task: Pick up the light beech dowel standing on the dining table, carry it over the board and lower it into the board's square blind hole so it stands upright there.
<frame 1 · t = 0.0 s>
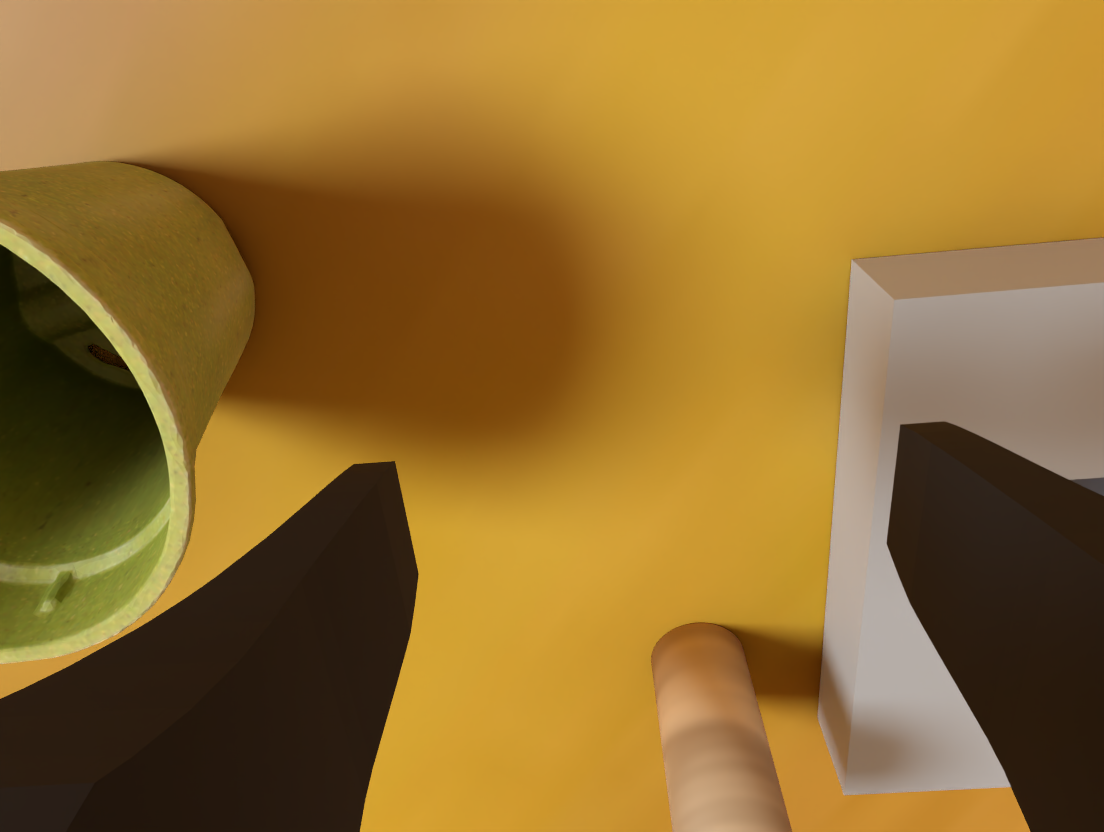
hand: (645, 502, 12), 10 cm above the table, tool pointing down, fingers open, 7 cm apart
dowel: (697, 658, 27), on the table
hole board: (1042, 509, 24), on the table
plant pot: (145, 280, 21), on the table
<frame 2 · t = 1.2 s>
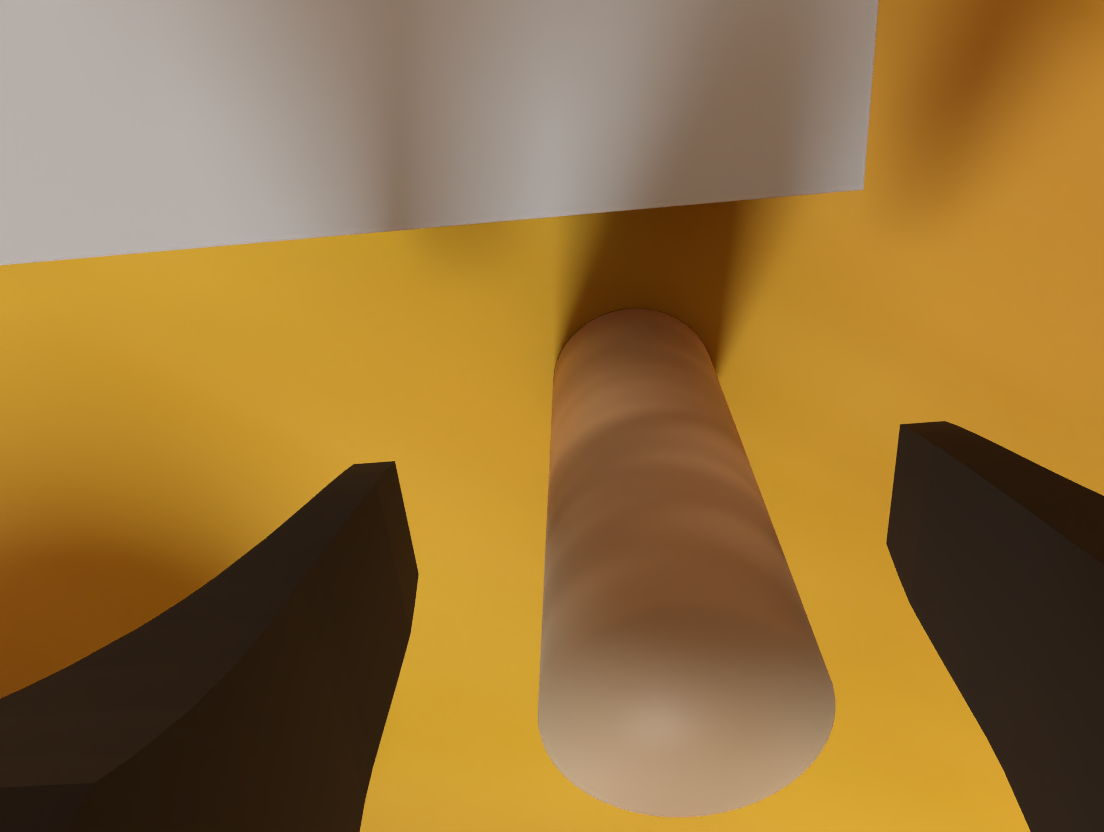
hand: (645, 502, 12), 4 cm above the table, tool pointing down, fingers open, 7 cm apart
dowel: (632, 383, 15), on the table
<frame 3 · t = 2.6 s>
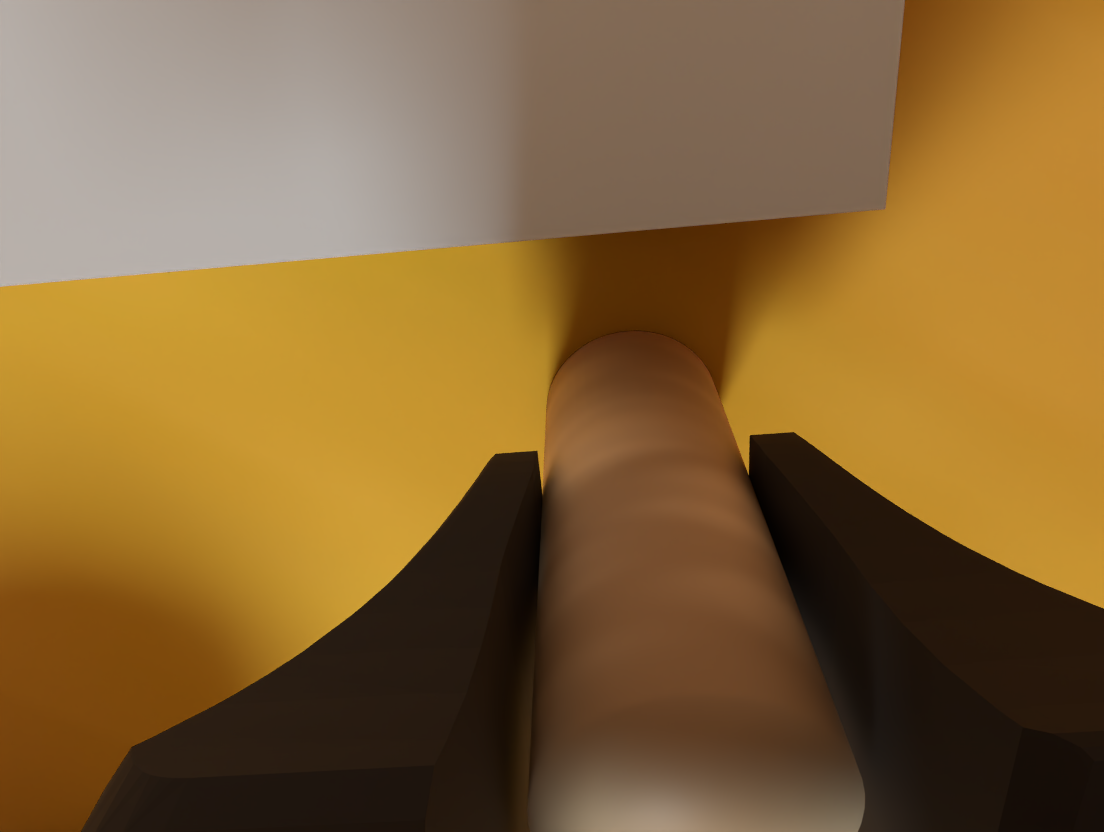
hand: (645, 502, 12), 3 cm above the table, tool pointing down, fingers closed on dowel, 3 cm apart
dowel: (631, 410, 14), on the table, touching gripper
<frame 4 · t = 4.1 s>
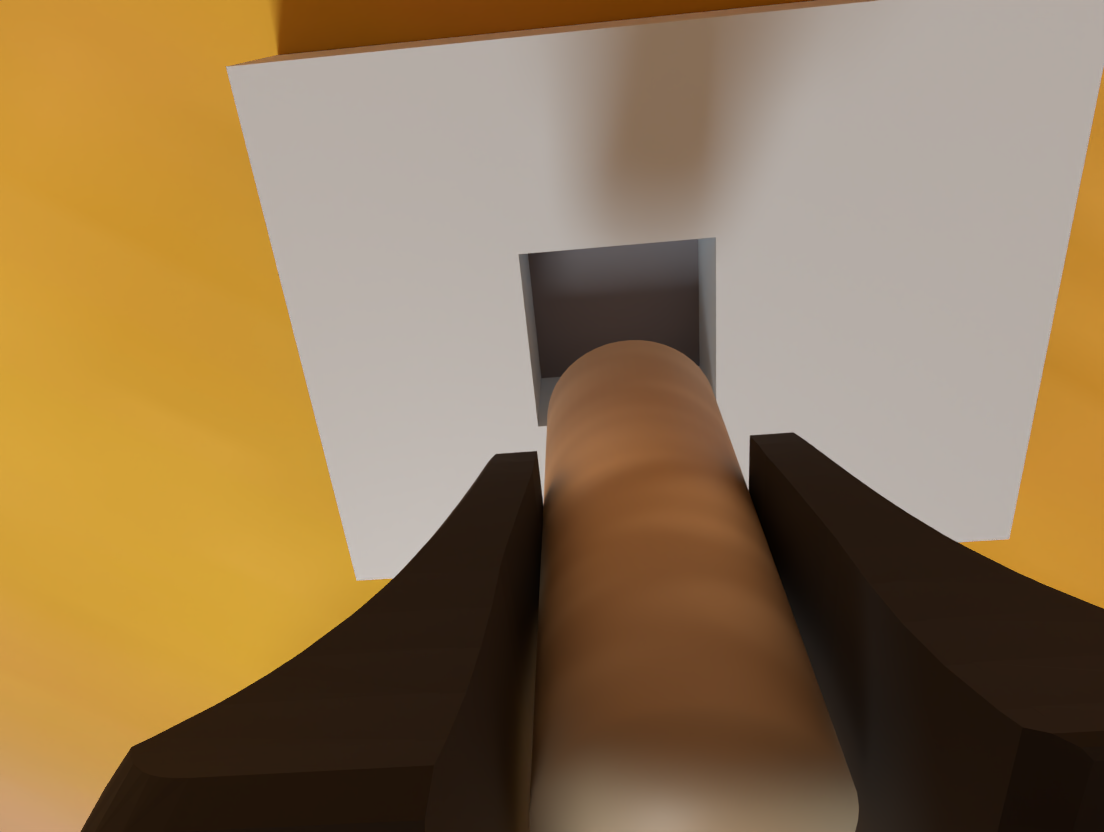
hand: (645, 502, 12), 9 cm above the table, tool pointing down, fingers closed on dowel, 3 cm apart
dowel: (631, 418, 15), point 6 cm above the table, touching gripper
hole board: (655, 288, 20), on the table
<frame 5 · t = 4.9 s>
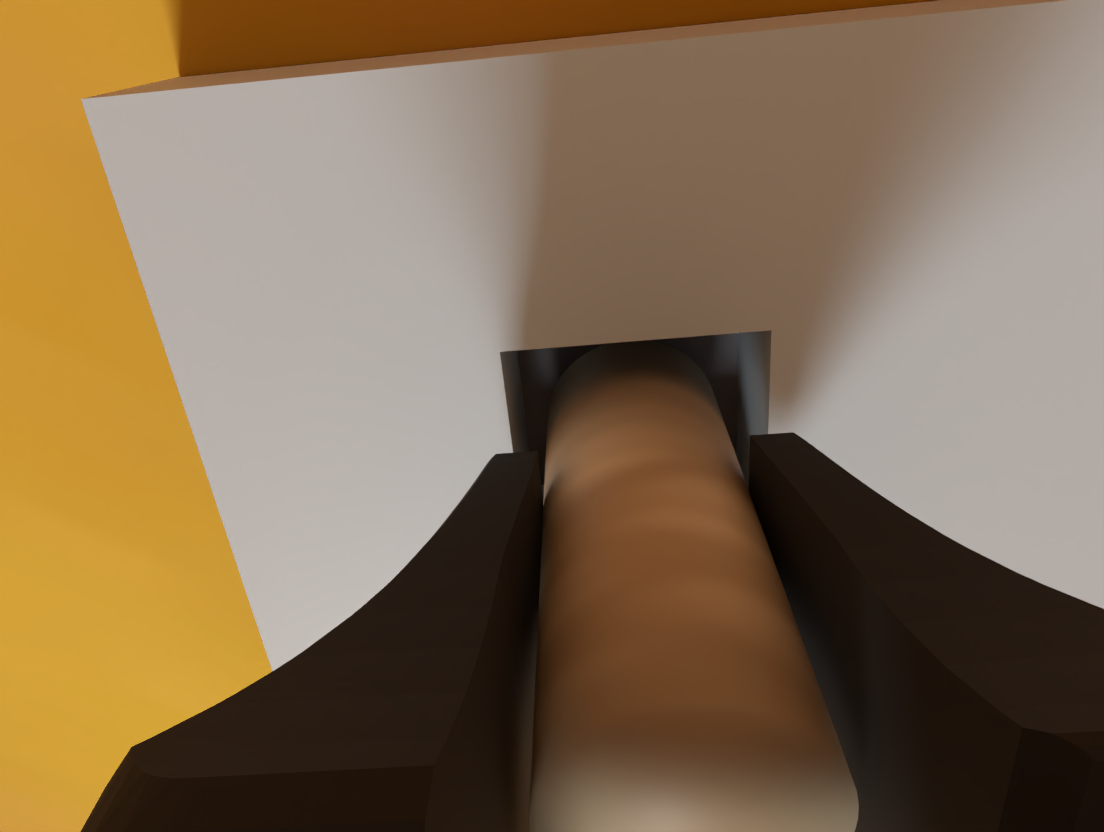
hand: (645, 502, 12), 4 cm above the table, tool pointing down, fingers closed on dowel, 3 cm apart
dowel: (631, 417, 15), point 1 cm above the table, touching gripper
hole board: (680, 374, 16), on the table
when the fingers open (4 cm above the table, at t = 5.7 s): dowel stays where it is, resting on hole board.
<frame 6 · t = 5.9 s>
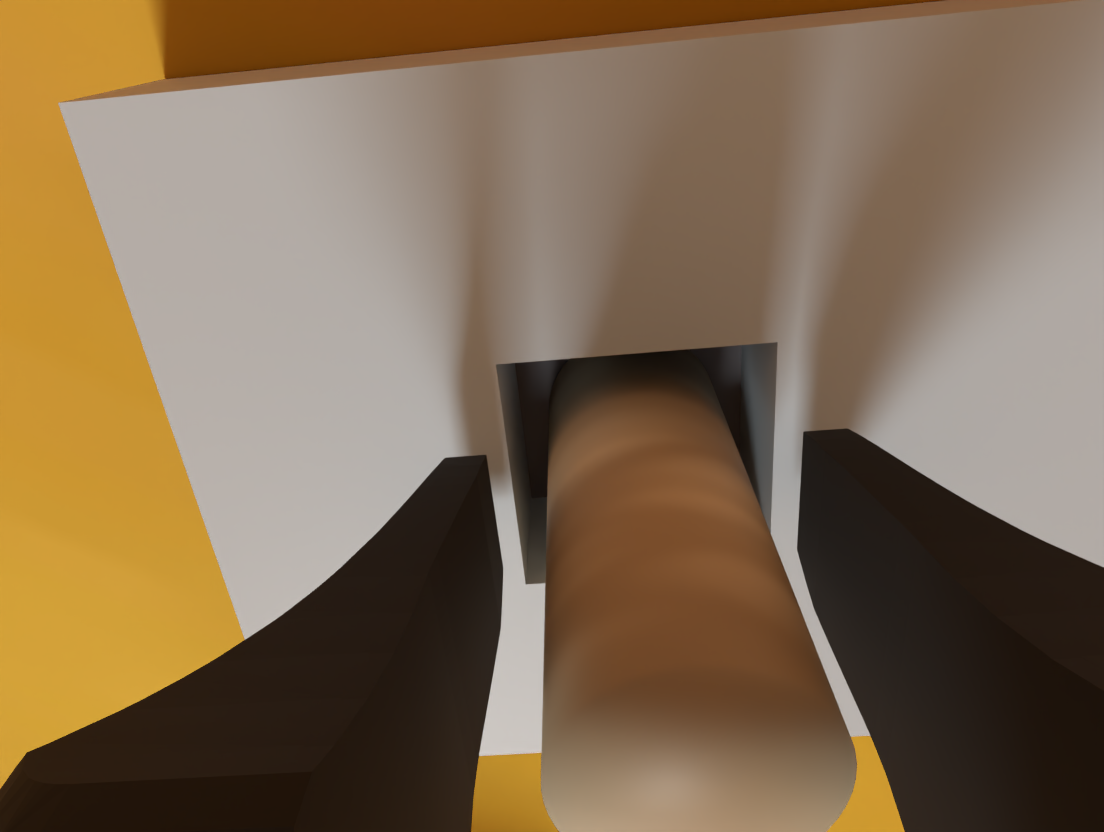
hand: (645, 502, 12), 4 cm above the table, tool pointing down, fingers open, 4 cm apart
dowel: (631, 408, 15), resting on hole board
hole board: (682, 384, 15), on the table
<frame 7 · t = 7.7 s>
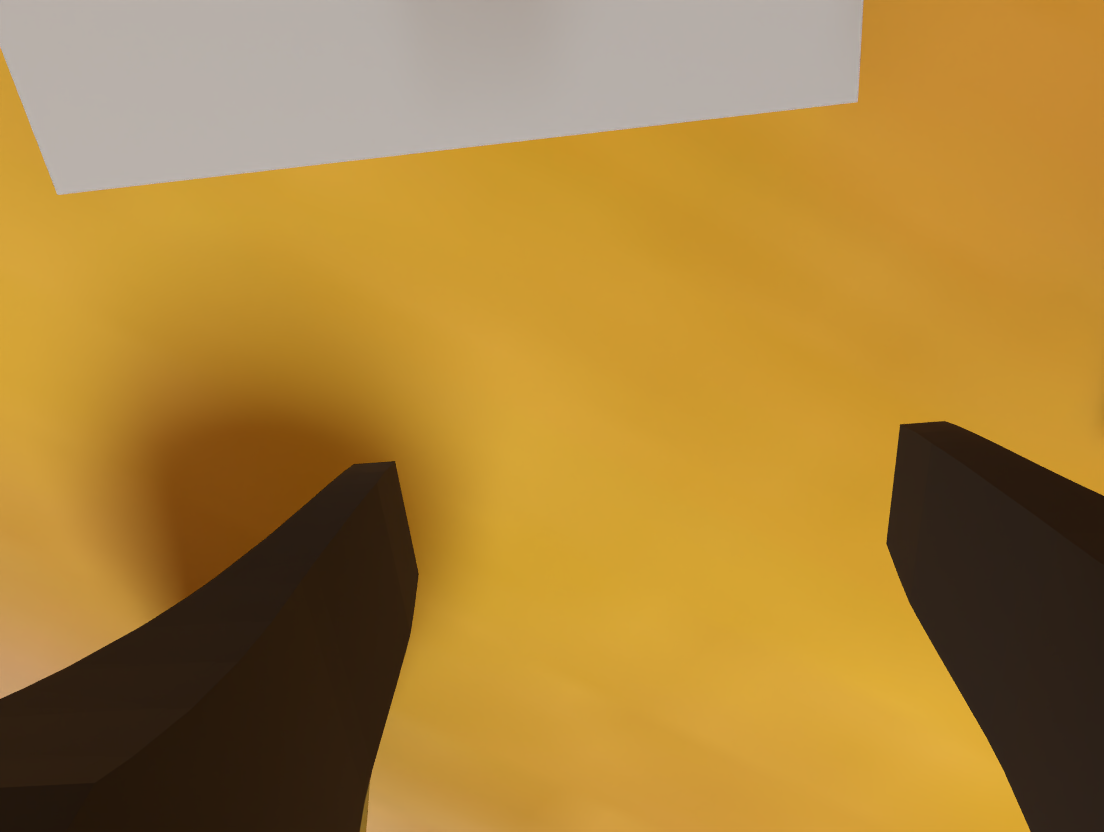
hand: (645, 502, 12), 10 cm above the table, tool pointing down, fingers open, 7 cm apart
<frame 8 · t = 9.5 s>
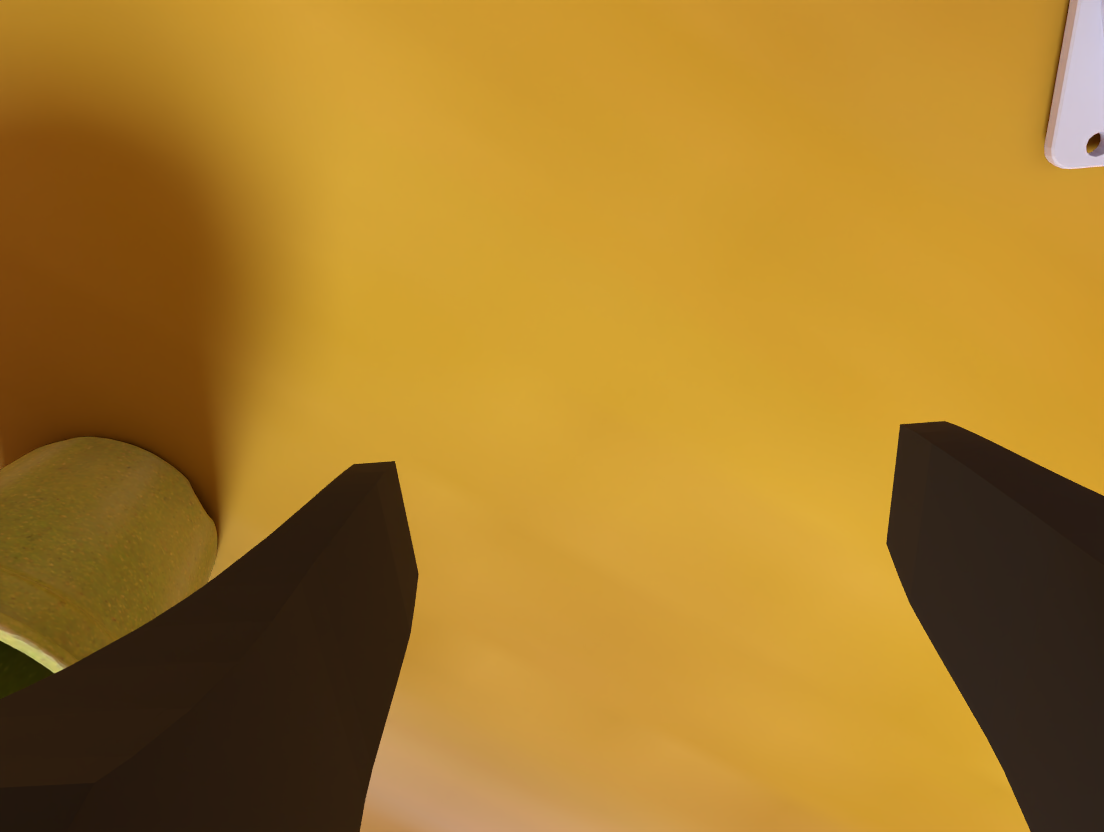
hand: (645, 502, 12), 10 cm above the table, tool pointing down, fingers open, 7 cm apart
plant pot: (120, 516, 24), on the table
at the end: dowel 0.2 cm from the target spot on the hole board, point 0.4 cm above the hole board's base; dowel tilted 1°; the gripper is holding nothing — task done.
